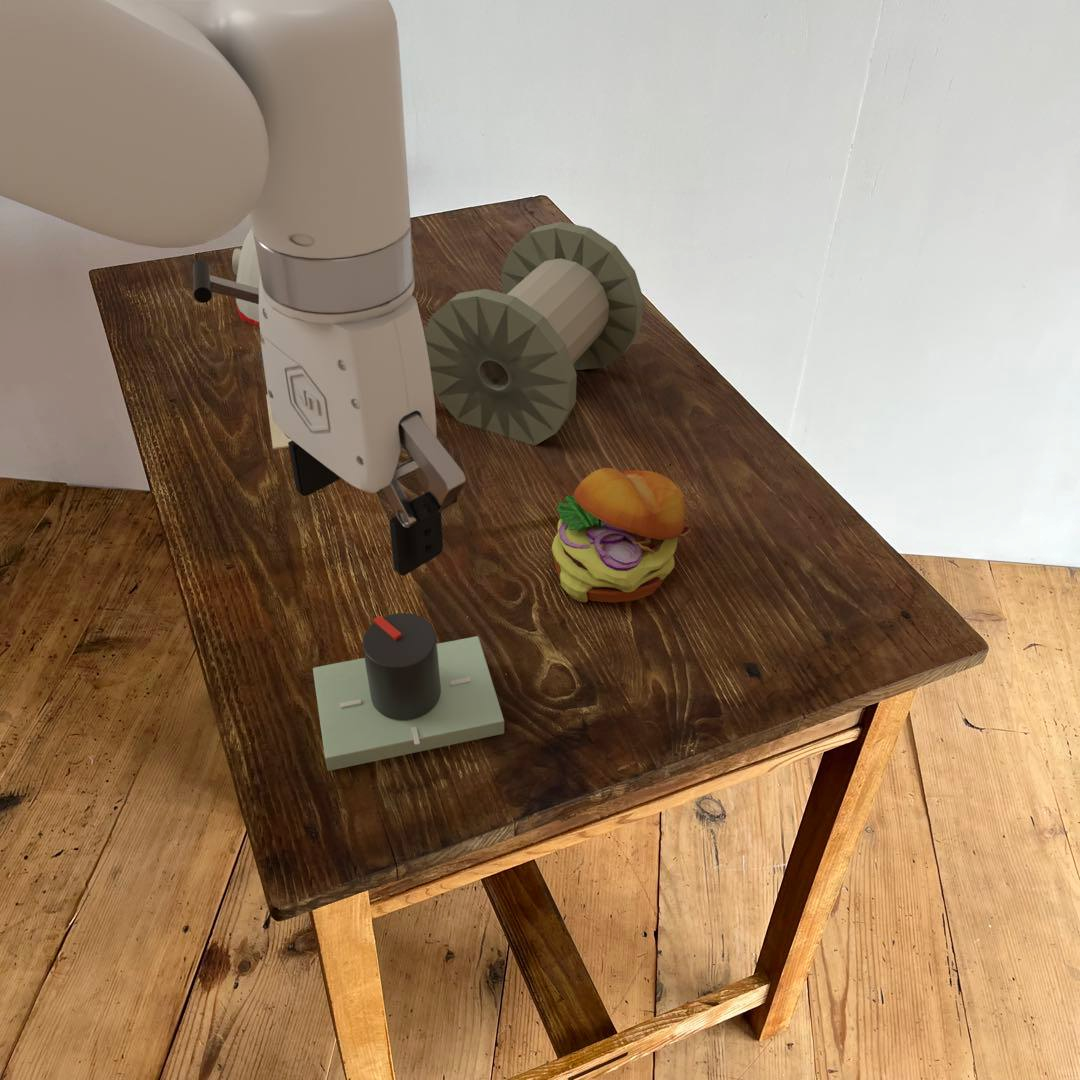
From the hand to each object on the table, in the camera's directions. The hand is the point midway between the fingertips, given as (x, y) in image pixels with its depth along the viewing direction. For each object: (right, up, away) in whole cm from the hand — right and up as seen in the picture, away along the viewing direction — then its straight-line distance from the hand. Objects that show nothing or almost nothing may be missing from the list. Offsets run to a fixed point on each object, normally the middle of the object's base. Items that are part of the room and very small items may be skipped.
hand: (367, 522), depth 61 cm
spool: (+10, +13, +40) cm, 44 cm away
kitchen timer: (-16, +25, +53) cm, 61 cm away
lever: (-14, +19, +27) cm, 36 cm away
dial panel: (+1, -14, +10) cm, 17 cm away
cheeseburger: (+17, -3, +22) cm, 28 cm away
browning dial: (+1, -12, +8) cm, 14 cm away
